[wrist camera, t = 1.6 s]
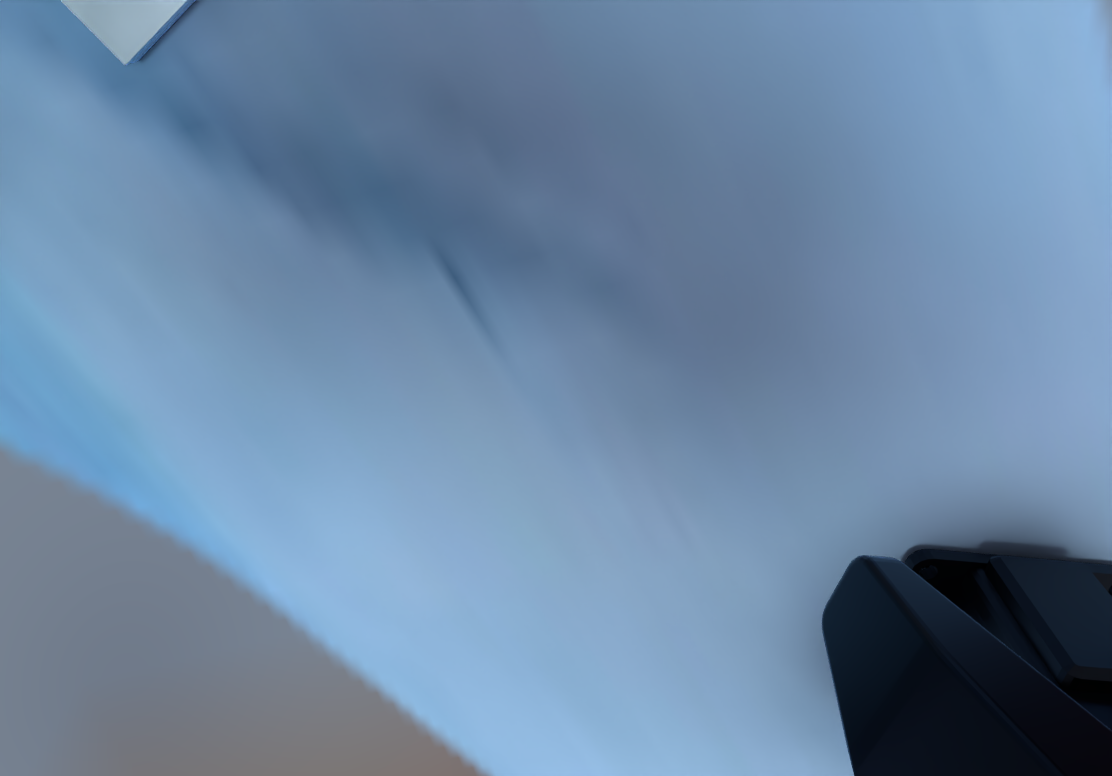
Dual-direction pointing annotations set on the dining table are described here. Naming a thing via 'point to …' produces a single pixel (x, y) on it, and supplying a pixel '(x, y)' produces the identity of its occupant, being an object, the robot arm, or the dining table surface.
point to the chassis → (128, 22)
